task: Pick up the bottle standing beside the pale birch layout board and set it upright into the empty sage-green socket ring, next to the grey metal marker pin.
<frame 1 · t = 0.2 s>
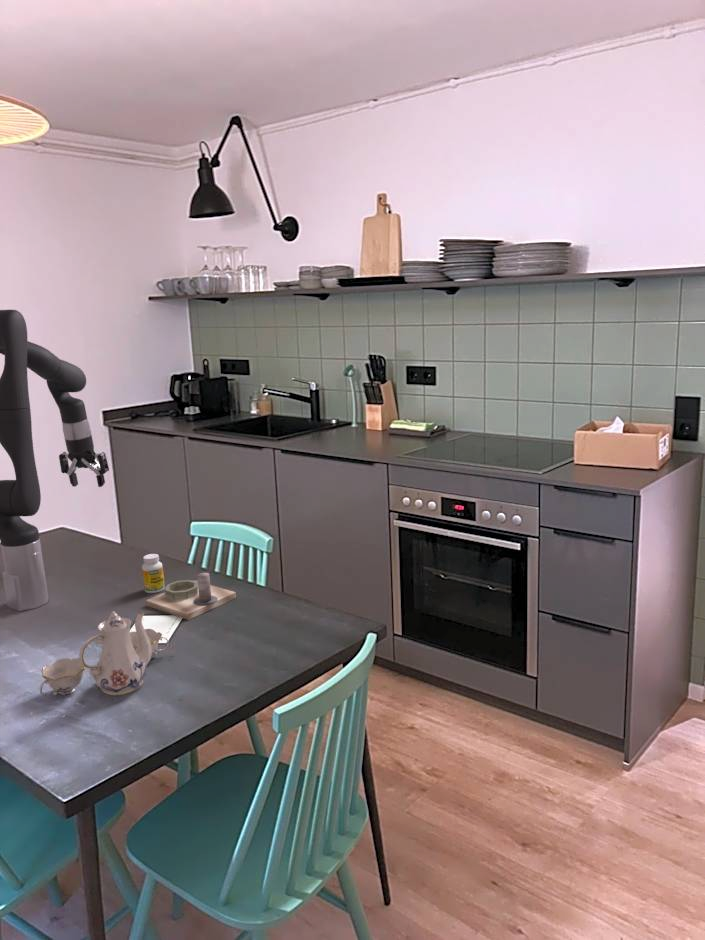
hand: (88, 485, 229), 22 cm above the table, tool pointing down, fingers open, 8 cm apart
chinaware: (115, 681, 158), on the table
layout board: (191, 601, 196), on the table
supplement bottle: (154, 590, 206), on the table
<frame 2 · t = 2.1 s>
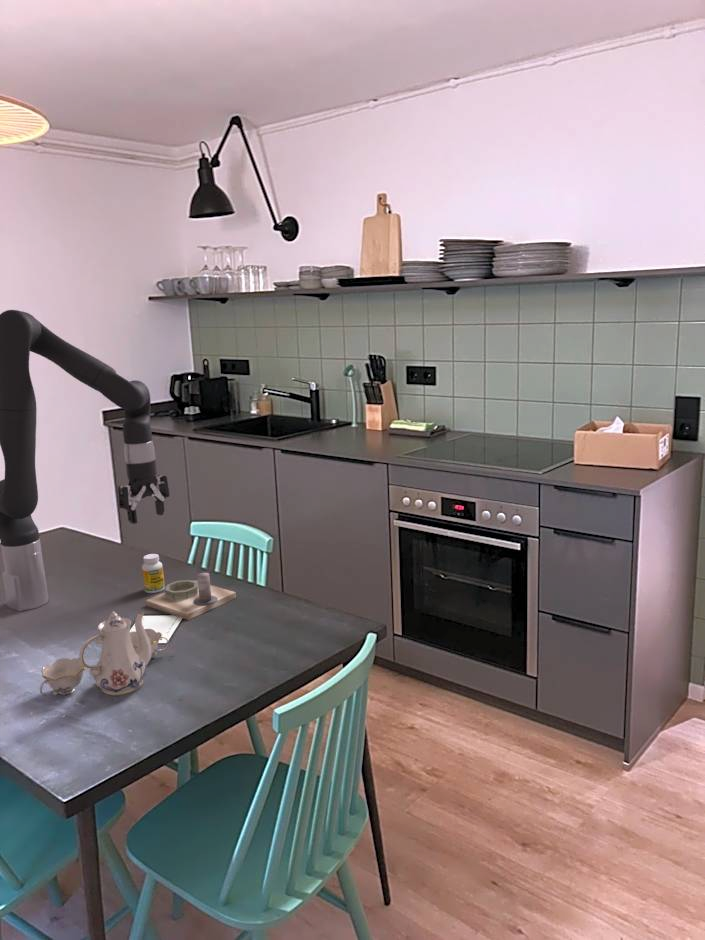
hand: (147, 518, 201), 20 cm above the table, tool pointing down, fingers open, 8 cm apart
nothing on the table moved.
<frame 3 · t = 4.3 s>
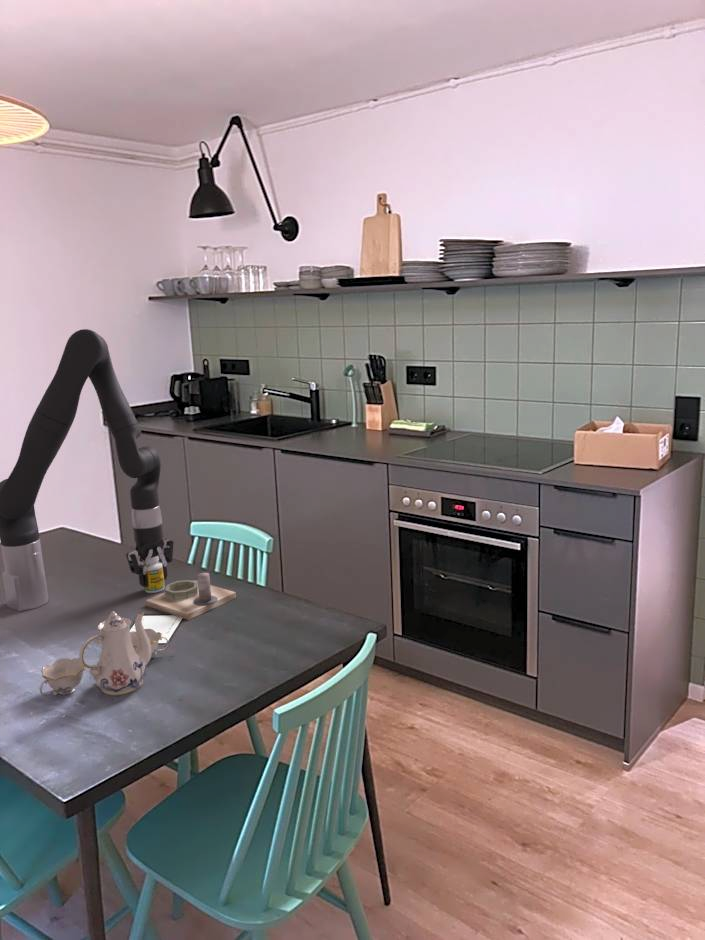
hand: (154, 582, 205), 2 cm above the table, tool pointing down, fingers closed on supplement bottle, 5 cm apart
supplement bottle: (154, 590, 206), on the table, touching gripper
everything else where it was.
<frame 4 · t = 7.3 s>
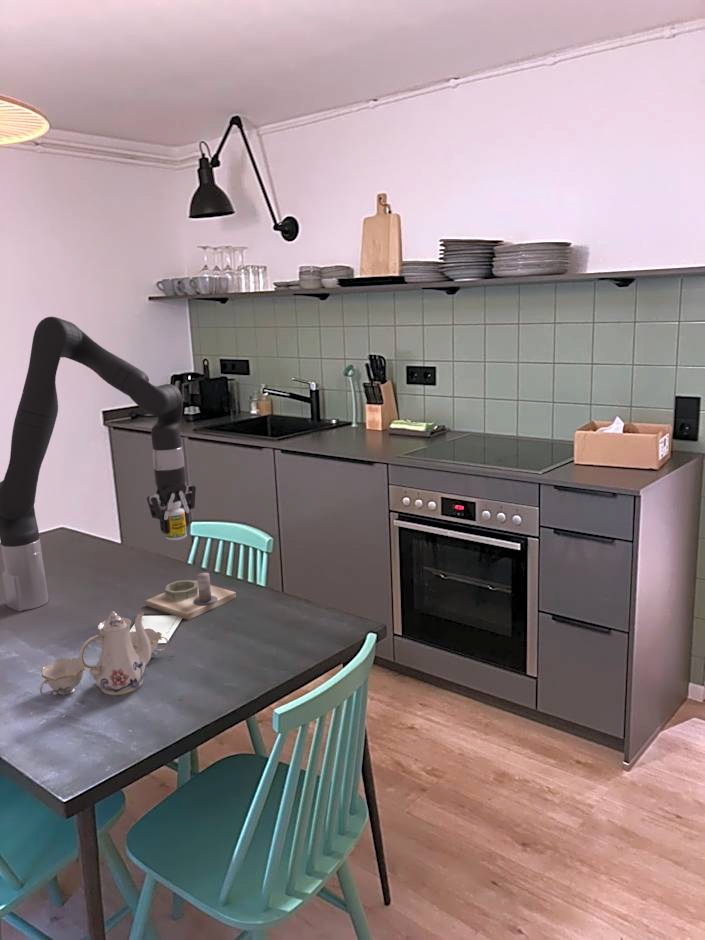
hand: (175, 529, 194), 19 cm above the table, tool pointing down, fingers closed on supplement bottle, 5 cm apart
supplement bottle: (176, 538, 195), point 17 cm above the table, touching gripper
everything else where it was.
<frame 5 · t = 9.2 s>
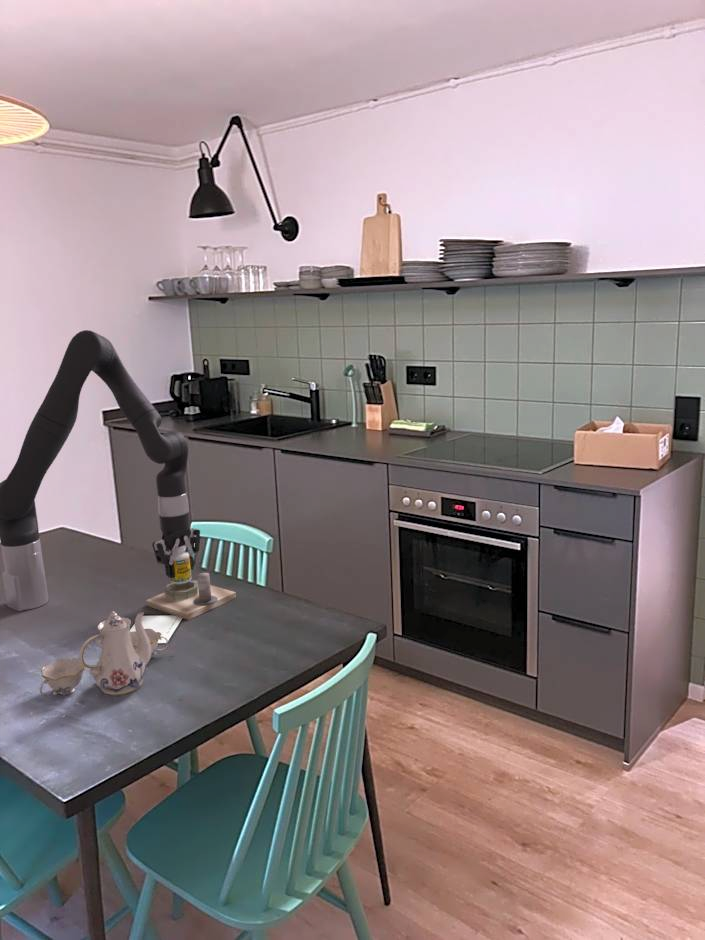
hand: (180, 573, 197), 7 cm above the table, tool pointing down, fingers closed on supplement bottle, 5 cm apart
supplement bottle: (181, 581, 198), point 5 cm above the table, touching gripper
everything else where it was.
when the fingers open (5 cm above the table, at t = 10.6 s): supplement bottle drops 1 cm, resting on layout board.
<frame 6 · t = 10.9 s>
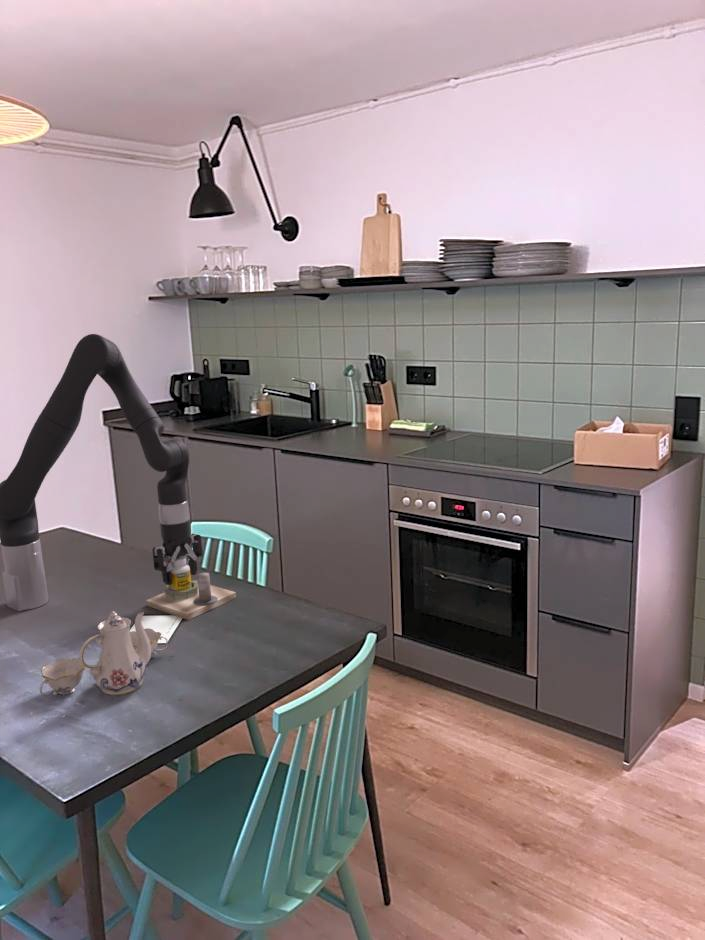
hand: (180, 579, 197), 5 cm above the table, tool pointing down, fingers open, 7 cm apart
supplement bottle: (181, 594, 198), point 1 cm above the table, touching layout board
everything else where it was.
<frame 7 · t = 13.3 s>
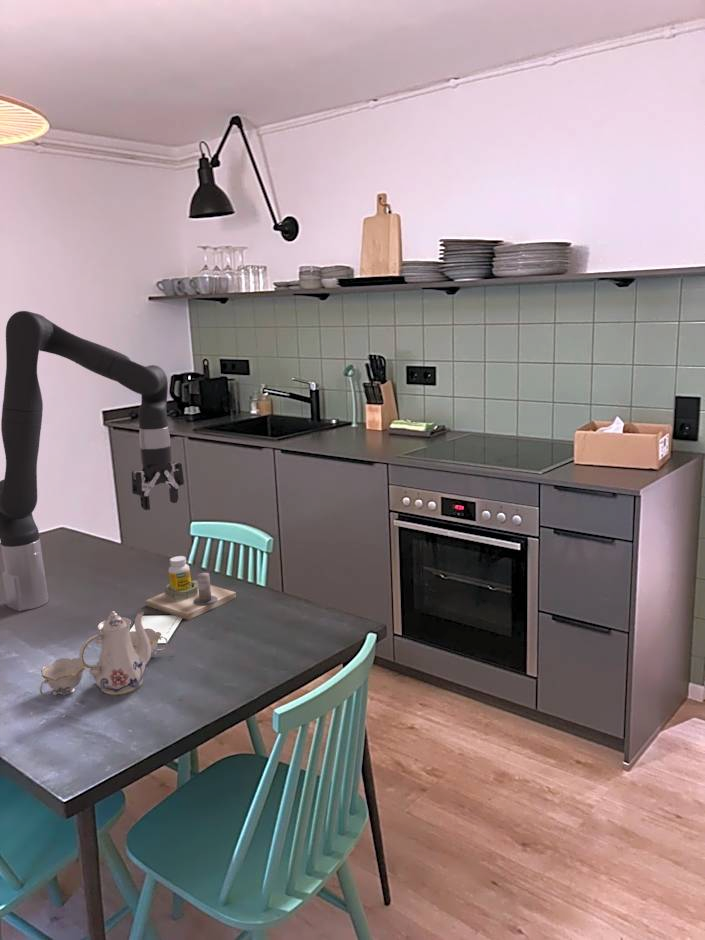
hand: (160, 506, 198), 24 cm above the table, tool pointing down, fingers open, 8 cm apart
nothing on the table moved.
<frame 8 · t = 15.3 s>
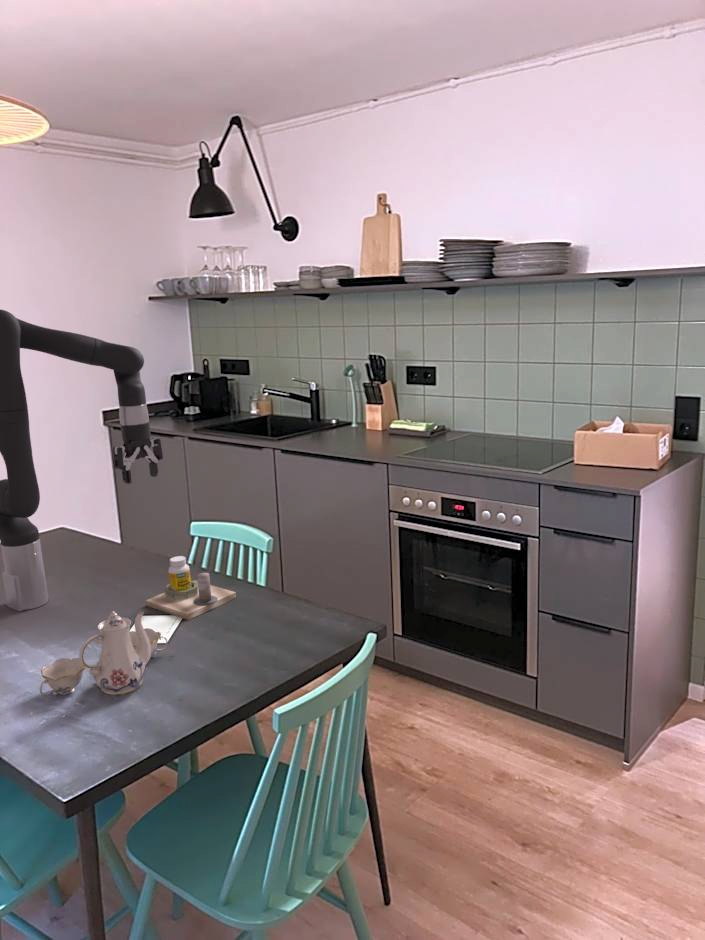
hand: (141, 479, 209), 28 cm above the table, tool pointing down, fingers open, 8 cm apart
nothing on the table moved.
at the end: supplement bottle 0.2 cm from the target spot on the layout board, point 1.3 cm above the layout board's base; supplement bottle tilted 0°; the gripper is holding nothing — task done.
